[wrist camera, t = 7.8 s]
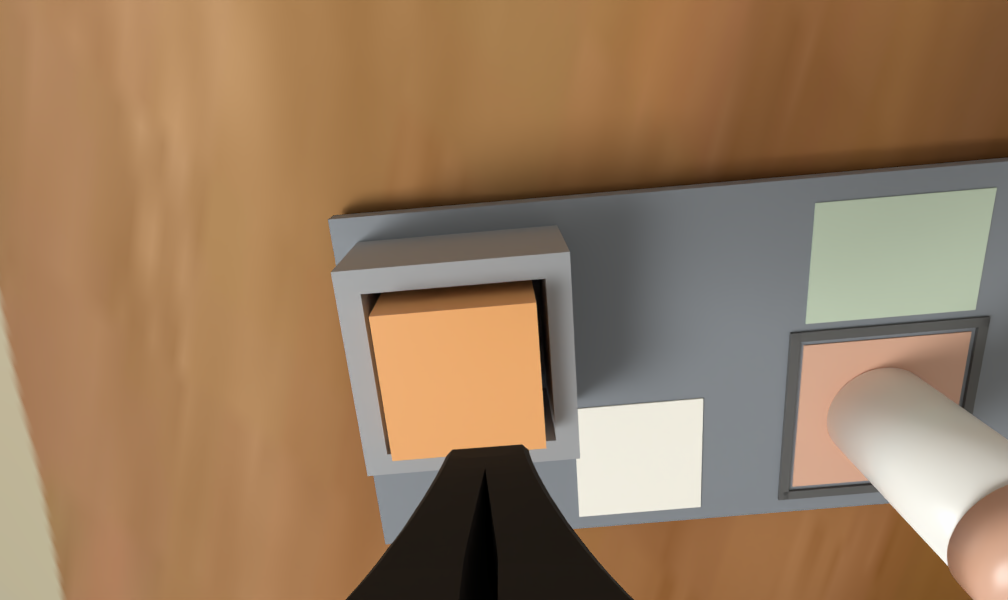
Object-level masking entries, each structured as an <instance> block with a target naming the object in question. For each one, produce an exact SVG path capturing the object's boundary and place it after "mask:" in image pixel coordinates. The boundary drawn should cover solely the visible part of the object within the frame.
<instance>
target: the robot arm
mask: <svg viewBox="0 0 1008 600" xmlns="http://www.w3.org/2000/svg"><path fill="white" fill-rule="evenodd" d="M346 600H634V599H633V598H632V597H630V596H629V595H628V594H627V593H626V591H625V590H624V589H623V588H622V587H621V586H620V585H619V584H618V583H617V582H616V581H615V580H614V579H613V578H612V577H611V575H610V574H609V573H608V572H607V571H606V570H605V569H604V568H603V566H602V565H601V564H600V563H599V562H598V561H597V559H596V558H595V557H594V556H593V555H592V553H591V552H590V551H589V550H588V548H587V547H586V546H585V544H584V543H583V542H582V541H581V539H580V538H579V537H578V535H577V534H576V533H575V531H574V530H573V529H572V527H571V526H570V524H569V523H568V522H567V520H566V519H565V517H564V516H563V514H562V513H561V511H560V510H559V508H558V507H557V505H556V504H555V502H554V501H553V499H552V497H551V496H550V494H549V492H548V491H547V489H546V487H545V486H544V484H543V482H542V480H541V478H540V476H539V475H538V472H537V470H536V468H535V466H534V464H533V462H532V459H531V456H530V453H529V450H528V449H527V448H526V447H525V446H524V445H522V444H520V445H507V446H493V447H480V448H467V449H453V450H451V452H450V453H449V454H448V455H447V456H446V458H445V460H444V462H443V464H442V466H441V468H440V470H439V471H438V473H437V475H436V477H435V479H434V480H433V482H432V484H431V486H430V487H429V489H428V491H427V492H426V494H425V496H424V497H423V499H422V500H421V502H420V503H419V505H418V506H417V508H416V509H415V511H414V513H413V514H412V516H411V517H410V519H409V520H408V522H407V523H406V525H405V526H404V528H403V529H402V530H401V532H400V533H399V535H398V536H397V537H396V539H395V540H394V541H393V543H392V544H391V545H390V546H389V548H388V549H387V550H386V552H385V553H384V554H383V556H382V557H381V558H380V560H379V561H378V562H377V564H376V565H375V566H374V567H373V569H372V570H371V571H370V572H369V574H368V575H367V576H366V577H365V578H364V580H363V581H362V582H361V583H360V584H359V585H358V587H357V588H356V589H355V590H354V591H353V592H352V593H351V594H350V596H349V597H348V598H347V599H346Z"/></svg>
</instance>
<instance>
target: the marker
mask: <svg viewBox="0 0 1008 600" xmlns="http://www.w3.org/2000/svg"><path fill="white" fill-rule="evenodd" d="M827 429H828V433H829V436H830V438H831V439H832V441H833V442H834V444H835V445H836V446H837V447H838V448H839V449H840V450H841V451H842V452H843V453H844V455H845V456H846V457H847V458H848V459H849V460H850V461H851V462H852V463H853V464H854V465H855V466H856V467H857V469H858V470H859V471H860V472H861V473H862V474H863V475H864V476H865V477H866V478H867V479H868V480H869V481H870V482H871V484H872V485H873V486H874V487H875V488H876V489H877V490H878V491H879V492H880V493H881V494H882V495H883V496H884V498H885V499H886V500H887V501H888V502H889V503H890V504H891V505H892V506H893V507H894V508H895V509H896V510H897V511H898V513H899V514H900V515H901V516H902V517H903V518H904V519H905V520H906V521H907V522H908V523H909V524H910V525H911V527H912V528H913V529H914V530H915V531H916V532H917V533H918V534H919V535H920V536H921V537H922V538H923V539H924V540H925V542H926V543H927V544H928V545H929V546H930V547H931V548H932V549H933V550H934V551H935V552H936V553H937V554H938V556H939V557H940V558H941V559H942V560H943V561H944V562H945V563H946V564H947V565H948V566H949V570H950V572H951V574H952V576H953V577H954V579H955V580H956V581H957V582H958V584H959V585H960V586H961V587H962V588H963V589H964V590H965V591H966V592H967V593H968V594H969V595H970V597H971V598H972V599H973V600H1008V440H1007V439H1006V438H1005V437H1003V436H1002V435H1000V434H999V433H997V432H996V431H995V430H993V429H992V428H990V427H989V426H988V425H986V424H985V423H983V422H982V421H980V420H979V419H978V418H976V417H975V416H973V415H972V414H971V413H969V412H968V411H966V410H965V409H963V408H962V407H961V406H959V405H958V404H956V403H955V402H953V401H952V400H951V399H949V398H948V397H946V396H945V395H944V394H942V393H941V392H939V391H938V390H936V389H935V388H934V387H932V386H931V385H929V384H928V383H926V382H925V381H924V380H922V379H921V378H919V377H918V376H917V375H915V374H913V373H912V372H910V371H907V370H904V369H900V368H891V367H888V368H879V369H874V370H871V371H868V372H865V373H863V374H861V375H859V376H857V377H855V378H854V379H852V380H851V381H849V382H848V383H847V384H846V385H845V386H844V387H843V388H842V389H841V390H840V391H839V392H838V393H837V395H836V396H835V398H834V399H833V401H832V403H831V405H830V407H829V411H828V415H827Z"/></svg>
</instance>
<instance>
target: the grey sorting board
mask: <svg viewBox="0 0 1008 600" xmlns="http://www.w3.org/2000/svg"><path fill="white" fill-rule="evenodd" d="M328 222H329V228H330V233H331V239H332V245H333V250H334V256H335V262H336V267H335V268H334V269H333V270H332V271H331V276H332V281H333V287H334V292H335V298H336V303H337V309H338V314H339V320H340V325H341V331H342V336H343V342H344V347H345V353H346V358H347V364H348V370H349V375H350V381H351V386H352V392H353V397H354V403H355V408H356V414H357V419H358V425H359V430H360V436H361V441H362V447H363V452H364V458H365V464H366V469H367V475H368V476H374V482H375V487H376V493H377V498H378V504H379V510H380V515H381V521H382V527H383V532H384V538H385V544H392V543H393V541H394V540H395V539H396V537H397V536H398V535H399V533H400V532H401V530H402V529H403V528H404V526H405V525H406V523H407V522H408V520H409V519H410V517H411V516H412V514H413V513H414V511H415V509H416V508H417V506H418V505H419V503H420V502H421V500H422V499H423V497H424V496H425V494H426V492H427V491H428V489H429V487H430V486H431V484H432V482H433V480H434V479H435V477H436V475H437V473H438V471H439V470H440V468H441V466H442V464H443V462H444V460H445V458H446V457H437V458H425V459H413V460H401V461H392V456H391V450H390V444H389V438H388V432H387V425H386V419H385V413H384V407H383V401H382V395H381V389H380V383H379V377H378V371H377V365H376V358H375V352H374V346H373V340H372V334H371V328H370V322H369V315H370V313H371V312H372V310H373V308H374V306H375V304H376V302H377V300H378V299H379V297H380V295H381V293H382V292H393V291H405V290H417V289H429V288H440V287H452V286H464V285H476V284H488V283H499V282H511V281H523V280H532V285H533V289H534V294H535V299H536V305H537V320H538V334H539V348H540V363H541V377H542V391H543V406H544V420H545V435H546V449H534V450H529V453H530V456H531V459H532V462H533V464H534V466H535V468H536V470H537V472H538V475H539V476H540V478H541V480H542V482H543V484H544V486H545V487H546V489H547V491H548V492H549V494H550V496H551V497H552V499H553V501H554V502H555V504H556V505H557V507H558V508H559V510H560V511H561V513H562V514H563V516H564V517H565V519H566V520H567V522H568V523H569V524H570V526H571V527H572V529H578V528H590V527H603V526H615V525H627V524H640V523H652V522H664V521H676V520H689V519H701V518H713V517H725V516H738V515H750V514H762V513H775V512H787V511H799V510H811V509H824V508H836V507H848V506H860V505H873V504H885V503H889V502H888V501H887V500H886V499H885V498H884V496H883V495H882V494H881V493H880V492H879V491H878V490H877V489H876V488H875V487H874V486H873V485H872V484H871V482H870V481H869V480H868V479H867V478H866V477H865V476H864V475H863V474H862V473H861V472H860V471H859V470H858V469H857V467H856V466H855V465H854V464H853V463H852V462H851V461H850V460H849V459H848V458H847V457H846V456H845V455H844V453H843V452H842V451H841V450H840V449H839V448H838V447H837V446H836V445H835V444H834V442H833V441H832V439H831V438H830V436H829V433H828V429H827V415H828V411H829V407H830V405H831V403H832V401H833V399H834V398H835V396H836V395H837V393H838V392H839V391H840V390H841V389H842V388H843V387H844V386H845V385H846V384H847V383H848V382H849V381H851V380H852V379H854V378H855V377H857V376H859V375H861V374H863V373H865V372H868V371H871V370H874V369H879V368H888V367H891V368H900V369H904V370H907V371H910V372H912V373H913V374H915V375H917V376H918V377H919V378H921V379H922V380H924V381H925V382H926V383H928V384H929V385H931V386H932V387H934V388H935V389H936V390H938V391H939V392H941V393H942V394H944V395H945V396H946V397H948V398H949V399H951V400H952V401H953V402H955V403H956V404H958V405H959V406H961V407H962V408H963V409H965V410H966V411H968V412H969V413H971V414H972V415H973V416H975V417H976V418H978V419H979V420H980V421H982V422H983V423H985V424H986V425H988V426H989V427H990V428H992V429H993V430H995V431H996V432H997V433H999V434H1000V435H1002V436H1003V437H1005V438H1006V439H1007V440H1008V158H996V159H984V160H973V161H961V162H950V163H938V164H926V165H915V166H903V167H891V168H880V169H868V170H856V171H845V172H833V173H821V174H810V175H798V176H787V177H775V178H763V179H752V180H740V181H728V182H717V183H705V184H693V185H682V186H670V187H659V188H647V189H635V190H624V191H612V192H600V193H589V194H577V195H565V196H554V197H542V198H530V199H519V200H507V201H496V202H484V203H472V204H461V205H449V206H437V207H426V208H414V209H402V210H391V211H379V212H368V213H356V214H344V215H333V216H332V217H331V218H329V219H328Z"/></svg>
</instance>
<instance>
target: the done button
mask: <svg viewBox="0 0 1008 600" xmlns="http://www.w3.org/2000/svg"><path fill="white" fill-rule="evenodd" d="M369 322H370V328H371V334H372V340H373V346H374V352H375V358H376V365H377V371H378V377H379V383H380V389H381V395H382V401H383V407H384V413H385V419H386V425H387V432H388V438H389V444H390V450H391V456H392V461H401V460H413V459H425V458H437V457H446V456H447V455H448V454H449V453H450V452H451V450H453V449H467V448H480V447H493V446H507V445H520V444H522V445H524V446H525V447H526V448H527V449H528V450H534V449H546V435H545V420H544V406H543V391H542V377H541V363H540V348H539V334H538V320H537V305H536V299H535V294H534V289H533V285H532V280H523V281H511V282H499V283H488V284H476V285H464V286H452V287H440V288H429V289H417V290H405V291H393V292H382V293H381V295H380V297H379V299H378V300H377V302H376V304H375V306H374V308H373V310H372V312H371V313H370V315H369Z"/></svg>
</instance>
